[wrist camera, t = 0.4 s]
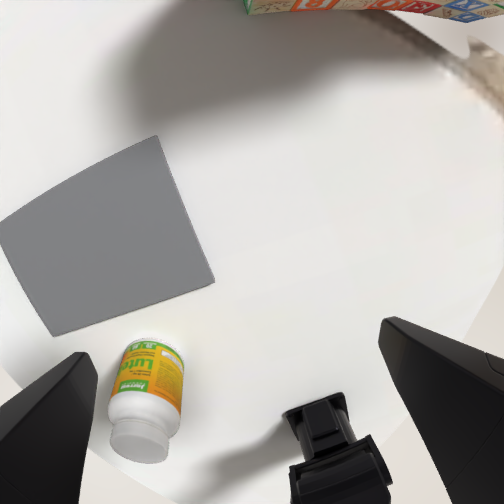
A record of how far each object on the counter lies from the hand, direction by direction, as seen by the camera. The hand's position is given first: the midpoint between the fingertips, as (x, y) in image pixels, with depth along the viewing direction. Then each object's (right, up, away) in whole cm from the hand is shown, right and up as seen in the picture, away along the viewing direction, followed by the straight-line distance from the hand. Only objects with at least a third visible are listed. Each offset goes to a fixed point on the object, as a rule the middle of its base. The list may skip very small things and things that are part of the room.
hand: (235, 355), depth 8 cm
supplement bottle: (-8, -6, +17) cm, 20 cm away
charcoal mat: (-12, +3, +12) cm, 17 cm away
